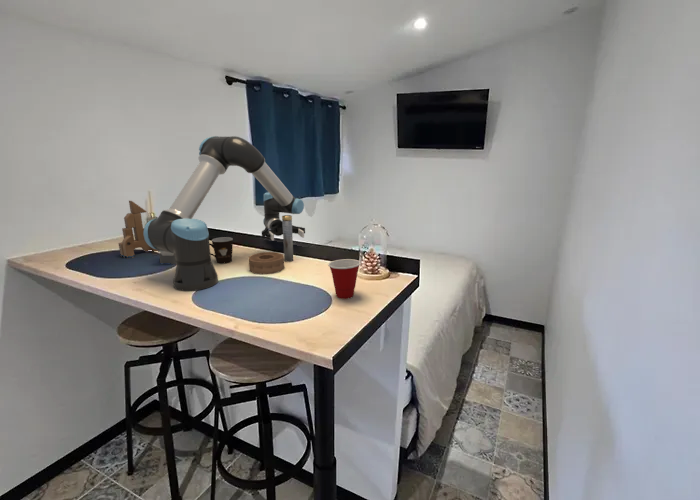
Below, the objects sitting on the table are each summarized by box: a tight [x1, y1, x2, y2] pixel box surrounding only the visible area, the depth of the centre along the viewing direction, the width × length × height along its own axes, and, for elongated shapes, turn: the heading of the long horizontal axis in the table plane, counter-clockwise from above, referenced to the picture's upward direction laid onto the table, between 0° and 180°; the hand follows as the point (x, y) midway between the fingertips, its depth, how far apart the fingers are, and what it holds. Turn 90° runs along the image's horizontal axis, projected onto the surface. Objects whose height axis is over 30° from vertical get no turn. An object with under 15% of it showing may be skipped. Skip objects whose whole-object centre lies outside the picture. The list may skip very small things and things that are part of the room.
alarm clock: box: [159, 251, 176, 265], centre depth 160 cm, size 16×10×18 cm, turn 179°
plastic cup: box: [327, 258, 361, 300], centre depth 122 cm, size 11×11×12 cm
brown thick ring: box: [248, 251, 285, 275], centre depth 151 cm, size 14×14×5 cm
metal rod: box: [281, 214, 294, 263], centre depth 160 cm, size 4×4×20 cm
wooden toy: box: [118, 200, 158, 257], centre depth 168 cm, size 15×7×25 cm, turn 142°
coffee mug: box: [209, 236, 234, 265], centre depth 159 cm, size 12×9×10 cm
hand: (288, 236), depth 160 cm, fingers open, 13 cm apart
